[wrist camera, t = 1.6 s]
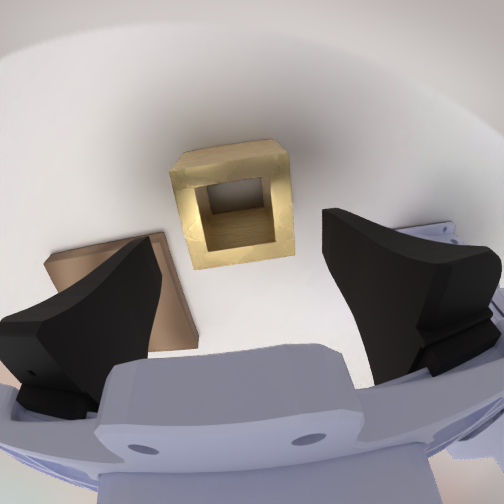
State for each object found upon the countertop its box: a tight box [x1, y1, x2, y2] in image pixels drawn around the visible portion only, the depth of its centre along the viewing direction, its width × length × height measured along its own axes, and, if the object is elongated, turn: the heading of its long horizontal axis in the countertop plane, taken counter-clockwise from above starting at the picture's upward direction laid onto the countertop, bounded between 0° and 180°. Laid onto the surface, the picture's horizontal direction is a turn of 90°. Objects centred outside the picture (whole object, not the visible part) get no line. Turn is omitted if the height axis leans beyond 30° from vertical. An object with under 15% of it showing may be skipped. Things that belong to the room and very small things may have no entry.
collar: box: [169, 139, 295, 270], centre depth 16 cm, size 6×6×5 cm
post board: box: [44, 232, 199, 352], centre depth 19 cm, size 11×11×6 cm
